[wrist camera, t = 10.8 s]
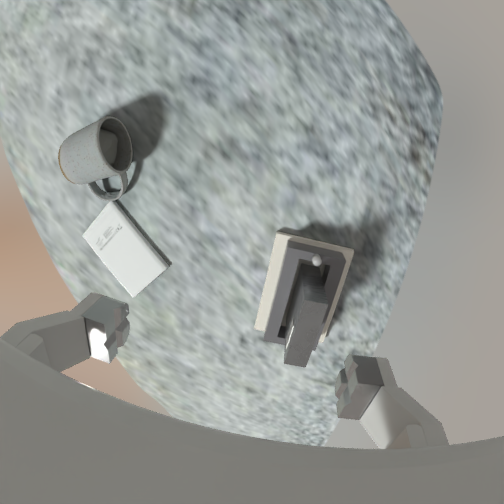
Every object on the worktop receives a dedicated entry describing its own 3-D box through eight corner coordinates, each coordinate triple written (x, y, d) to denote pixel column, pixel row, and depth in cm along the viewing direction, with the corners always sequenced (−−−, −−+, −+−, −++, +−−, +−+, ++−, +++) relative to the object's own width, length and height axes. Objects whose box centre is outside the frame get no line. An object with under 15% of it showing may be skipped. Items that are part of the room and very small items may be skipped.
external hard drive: (137, 294, 44) (87, 233, 42) (171, 264, 42) (116, 198, 40) (132, 298, 43) (81, 236, 40) (166, 268, 40) (110, 200, 38)
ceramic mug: (82, 136, 37) (48, 138, 29) (127, 117, 35) (95, 113, 28) (98, 204, 40) (66, 217, 33) (143, 190, 38) (114, 201, 31)
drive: (300, 263, 38) (303, 299, 28) (319, 267, 38) (328, 304, 28) (285, 317, 40) (283, 363, 31) (303, 320, 40) (305, 367, 31)
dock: (276, 231, 38) (274, 243, 33) (352, 249, 37) (361, 263, 32) (254, 325, 42) (250, 346, 38) (322, 339, 42) (325, 360, 37)
